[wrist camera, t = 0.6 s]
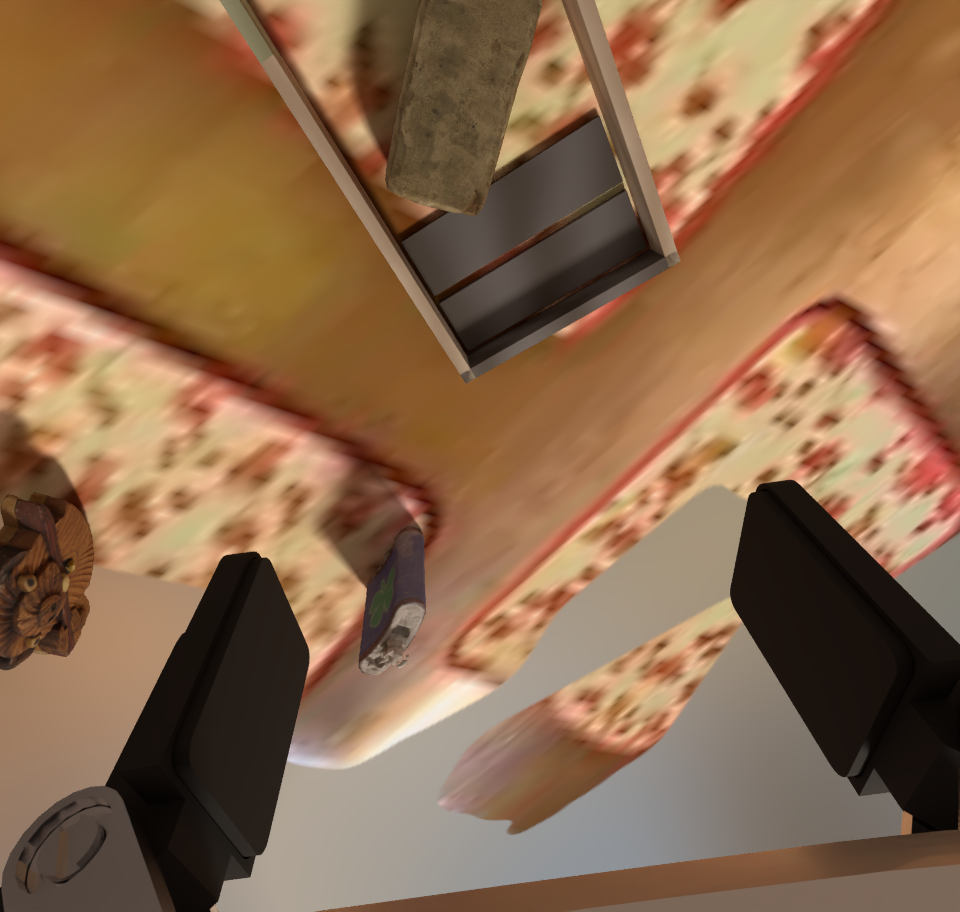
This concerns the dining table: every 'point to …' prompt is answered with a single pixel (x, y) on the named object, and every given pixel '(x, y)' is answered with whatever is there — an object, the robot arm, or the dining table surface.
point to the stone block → (458, 99)
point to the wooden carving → (42, 577)
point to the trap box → (516, 217)
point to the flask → (394, 604)
